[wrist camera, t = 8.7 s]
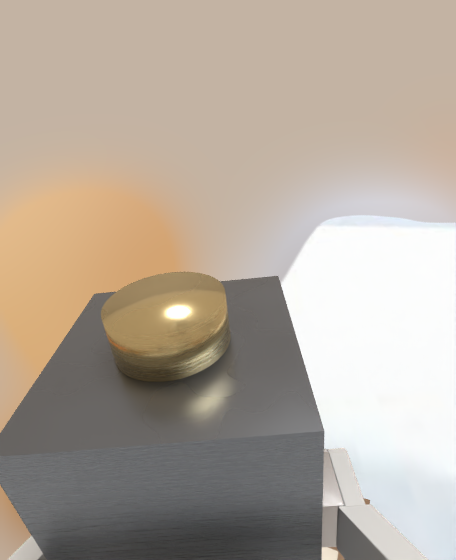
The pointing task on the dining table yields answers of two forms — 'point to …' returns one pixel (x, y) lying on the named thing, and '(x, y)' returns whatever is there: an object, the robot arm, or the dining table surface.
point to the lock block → (172, 429)
